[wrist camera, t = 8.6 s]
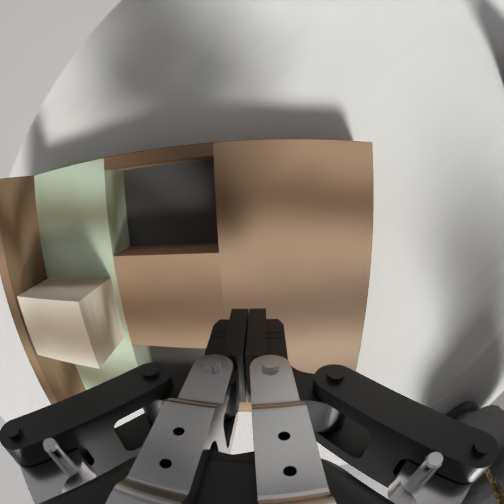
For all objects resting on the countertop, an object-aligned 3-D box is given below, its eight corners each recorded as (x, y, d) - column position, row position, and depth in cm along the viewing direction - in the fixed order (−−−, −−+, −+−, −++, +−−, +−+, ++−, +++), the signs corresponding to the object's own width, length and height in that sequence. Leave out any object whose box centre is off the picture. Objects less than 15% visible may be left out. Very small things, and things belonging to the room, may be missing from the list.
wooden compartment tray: (48, 176, 18) (-12, 182, 11) (355, 147, 17) (404, 132, 10) (90, 372, 23) (57, 415, 16) (340, 381, 22) (359, 440, 15)
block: (50, 277, 17) (17, 296, 13) (110, 277, 17) (78, 301, 13) (65, 329, 18) (37, 354, 14) (124, 337, 18) (99, 368, 14)
